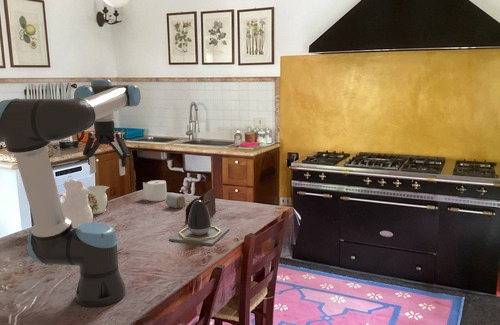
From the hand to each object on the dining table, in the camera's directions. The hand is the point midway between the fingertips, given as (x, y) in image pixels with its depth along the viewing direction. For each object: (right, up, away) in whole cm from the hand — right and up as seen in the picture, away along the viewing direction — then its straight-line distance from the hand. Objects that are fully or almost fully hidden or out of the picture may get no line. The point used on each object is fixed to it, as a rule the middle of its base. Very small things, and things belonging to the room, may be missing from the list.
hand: (107, 174), depth 178 cm
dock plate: (+34, -28, +22) cm, 49 cm away
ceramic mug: (+17, -20, +67) cm, 72 cm away
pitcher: (-25, -22, +59) cm, 67 cm away
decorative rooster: (-28, -27, +31) cm, 50 cm away
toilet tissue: (+2, -17, +83) cm, 85 cm away
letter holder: (+32, -23, +47) cm, 62 cm away
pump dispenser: (+34, -27, +21) cm, 48 cm away
